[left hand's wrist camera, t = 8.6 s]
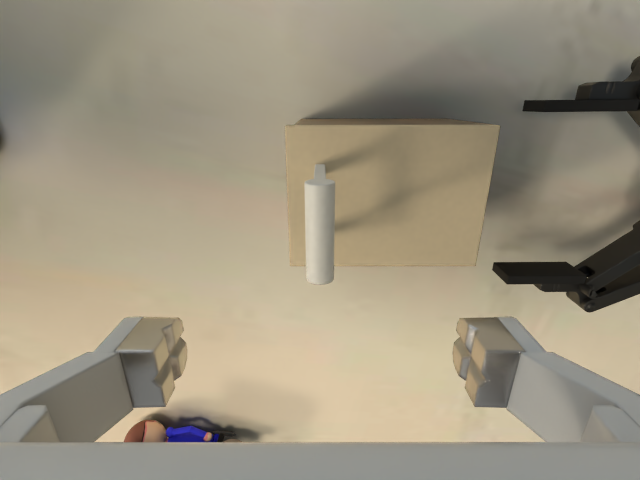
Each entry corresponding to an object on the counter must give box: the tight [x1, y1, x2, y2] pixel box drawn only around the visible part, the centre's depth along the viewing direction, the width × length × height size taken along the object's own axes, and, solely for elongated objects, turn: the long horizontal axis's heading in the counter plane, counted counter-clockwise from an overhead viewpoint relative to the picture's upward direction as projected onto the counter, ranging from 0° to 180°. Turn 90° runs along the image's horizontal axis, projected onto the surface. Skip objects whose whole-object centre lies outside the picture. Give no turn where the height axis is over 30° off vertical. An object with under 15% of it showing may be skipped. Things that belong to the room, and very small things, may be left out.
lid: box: [285, 125, 500, 285], centre depth 22 cm, size 14×10×8 cm
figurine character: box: [124, 420, 241, 442], centre depth 44 cm, size 7×8×15 cm
